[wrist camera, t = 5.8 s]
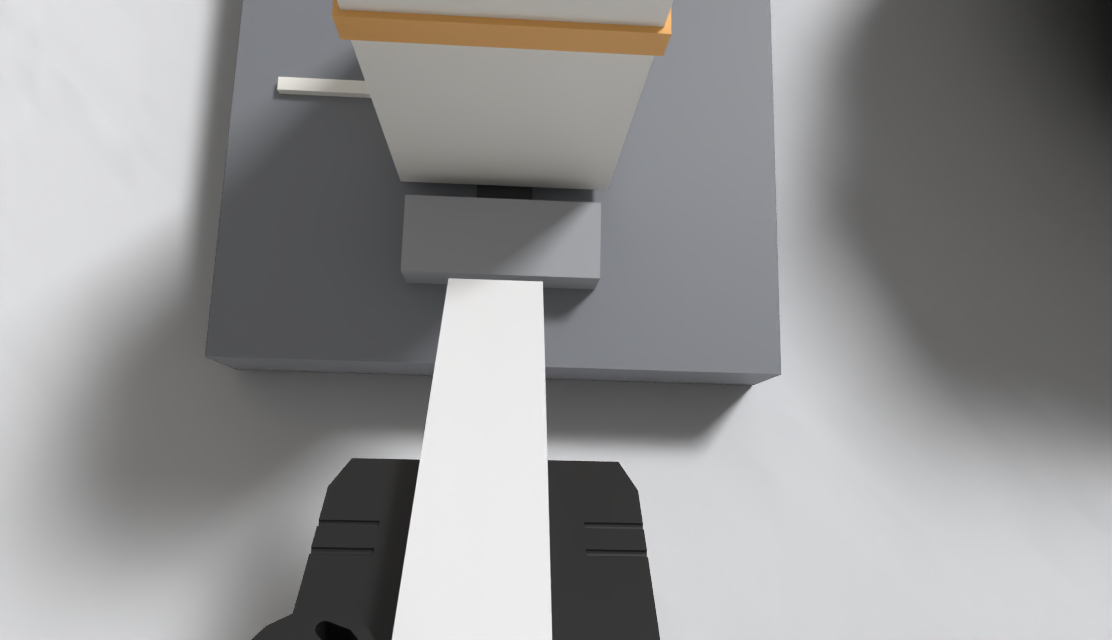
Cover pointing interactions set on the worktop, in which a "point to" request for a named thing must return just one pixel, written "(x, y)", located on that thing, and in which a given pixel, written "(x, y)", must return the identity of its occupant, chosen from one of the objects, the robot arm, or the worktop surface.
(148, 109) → the worktop surface
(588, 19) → the fader knob
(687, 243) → the panel
